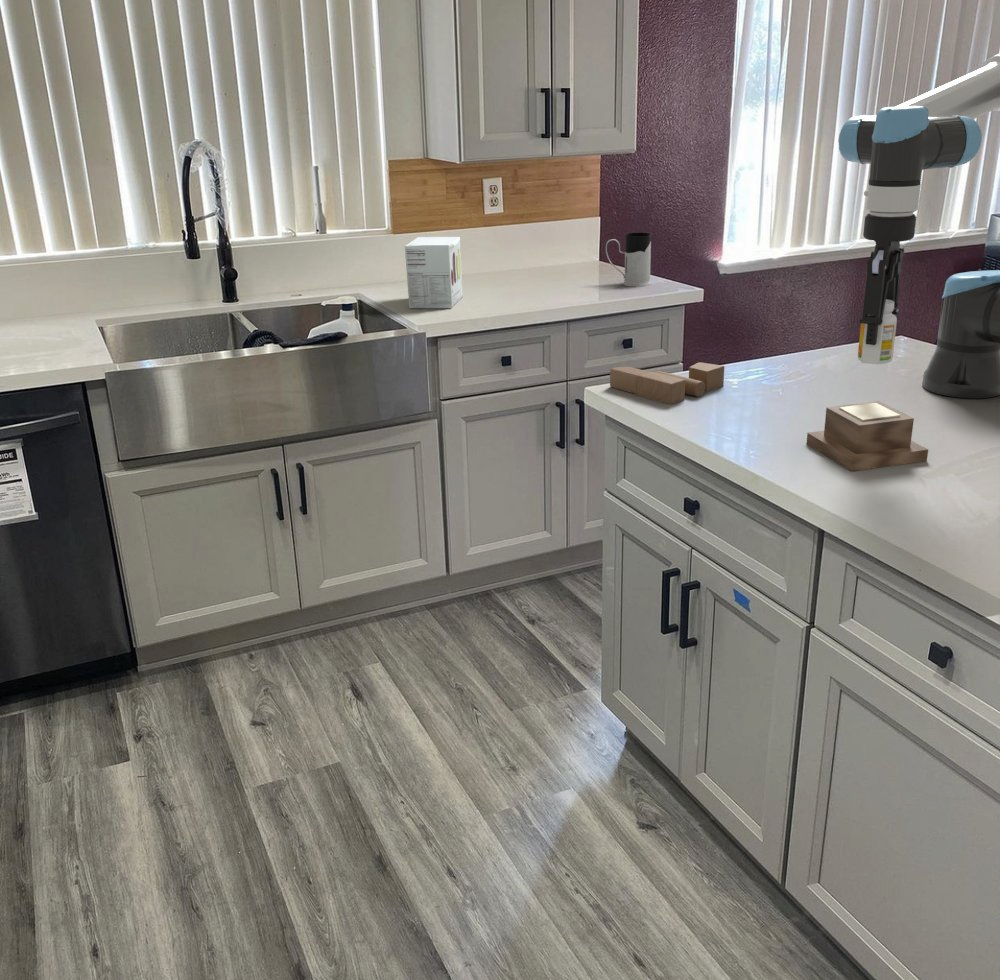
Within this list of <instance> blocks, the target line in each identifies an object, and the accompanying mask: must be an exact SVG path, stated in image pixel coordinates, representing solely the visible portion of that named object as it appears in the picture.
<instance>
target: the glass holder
mask: <svg viewBox="0 0 1000 980" xmlns="http://www.w3.org/2000/svg"><path fill="white" fill-rule="evenodd" d="M612 241H613V242H614V241H615V242H616V244H618V252H619V253H621V254H624V272H623V271H621V270H620V269H619V268H618V267H617V266H615V264H613V262H612V260H610V257H609V255H608V243H610V242H612ZM651 249H652V241H651V233H648V232H629V233H626V234H625V251H621V244H620V241H618V240H617V239H616V238H613V239H609V240H607V241H606V244H605V254H606V255H605V256H606V257H607V260H608V261H609V264H610V265H611V266H612V267H613V268H614V269H616V270H617V271H618V272H619V273H621V275H622V276H623V279H624V280H623V282H622V285H624V286H626V287H635V288H636V287H646V286H651V285H652V281H651V260H652V259H651V257H652V253H651V252H652V251H651Z"/></svg>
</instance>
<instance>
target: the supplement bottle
mask: <svg viewBox="0 0 1000 980" xmlns="http://www.w3.org/2000/svg"><path fill="white" fill-rule="evenodd" d="M893 309H895V308H894V301H892V300H887V299H886V302H885V307H884V313H883V319H882V320H883V322H882V324H884V326H883V335H882V344H881V353H880V362H879V364H878V365H884V364H888V363H891V362H892V361H893V358H894V357H893V356H894V348H895V341H896V331H897V323H898V320H897V315H893V314H892V311H893ZM864 329H865V324H863V323H860V330H859V341H858V350H857V360H858V361H860V362H861V357H862V348H863V338H864Z"/></svg>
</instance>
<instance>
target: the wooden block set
mask: <svg viewBox="0 0 1000 980" xmlns="http://www.w3.org/2000/svg"><path fill="white" fill-rule="evenodd" d="M609 374H610V375H609V386H610V387H611V388H612V389H616V390H620V391H622V392H623V391H624V392H627V393H630V394H634V395H636V396H638V397H641V398H645V399H649V400H651V401H655V402H658V403H659V402H660V403H663V404H666V405H673V404H677V403H679V402H682V401H683V402H684V400H685V396H686V395H688V396H689V395H690V396H694V397H697V398H698V397H702V396H703V395H704V393H707V392H710V391H713V390H716V389H720V388H722V387H724V385H725V384H724V382H725V381H724V380H725V379H724V378H725V365H719V364H713V363H707V362H701V361H700V362H697V363H695V364H693V365H691V366H689V367H688V377H686V376H681V375H677V374H672V373H669V372H664V371H663V370H656V371H648V370H644V369H639V368H636V367H632V366H616V367H613V368H610V370H609Z"/></svg>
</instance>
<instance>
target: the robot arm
mask: <svg viewBox="0 0 1000 980" xmlns="http://www.w3.org/2000/svg"><path fill="white" fill-rule="evenodd" d="M992 111H994V112H1000V53H997V54H995V55H993V56H990V57H988V59H986V60H985V61H984V62H983V63H982V64H981V65H980V67H979V68H978V69H976V70H974V71H972V72H969V73H967V74H965V75H962V76H960V77H959V78H957V79H953V80H952V81H949V82H947V83H945V84H943V85H940V86H939V87H937V88H934V89H932V90H929V91H928V92H925V93H922V94H921V95H919V96H917V97H914V98H912V99H909V100H907V101H905V102H903V103H901V104H898V105H896V106H887V107H885V106H884V107H882V108H880V109H879V110H878V111H877V113H876V114H873V115H869V114H863V115H855V116H851V117H850V118H849V119H847V120H846V121H845V122H844V123H843V125H842V127H841V129H840V130H839V131H840V132H839V134H838V150H839V152H840V155H841V157H842V158H843V159H844V160H846V161H848V162H852V163H859V164H861V165H866V164H868V165H869V164H870V168H869V178H868V186H867V188H868V189H866V190H865V189H864V192H863V196H865V197H867V199H866V207H865V209H866V210H867V212H869V213H867V214H866V215H865V216H864V223H863V231H862V232H863V233H862V234H863V238H864V239H865V240H866V241H867V240H868V241H874V242H875V245H874V251H871V252H870V256H869V259H867V262H866V267H867V268H866V269H867V270H866V282H865V291H864V299H863V306H862V307H863V309H862V316H861V318H859V323H860V324H861V323H863V324H865V329H864V338H863V348H862V357H861V361H860V363H861V364H868V365H869V364H870V365H876V366H877V365H878V366H879V365H880V364H879V362H880V353H881V344H882V335H883V326H884V324H882V322H883V320H882V319H883V313H884V307H885V302H886V299H887V300H892V301H894V309H893V311H892V314H893V315H895V316H898V315H899V314H900V309H897V308H898V305H899V303H898V300H899V294H900V293H899V292H900V283H901V282H900V281H901V273H902V266H903V265H902V263H903V258H904V254H905V247H901V246H900V245H901V242H906V241H907V242H908V241H911V240H912V239H914V237H915V234H916V232H915V231H916V225H917V216H916V214H915V213H914V212H916V211H917V210H919V203H920V193H921V187H922V186H921V181H922V176H923V171H924V170H930V169H942V168H950V169H953V168H955V167H958V166H962V165H965V164H967V163H969V162H970V161H972V160H973V159H974V158H975V157H976V156H977V154H978V153H979V151H980V149H981V143H982V136H983V135H982V134H983V133H982V130H981V128H980V127H981V126H980V125H979V123H978V122H977V121H976V120H975V119H977V118H980V117H982V116H983V115H986V114H989V113H990V112H992ZM941 299H942V301H941V302H942V303H941V307H940V308H941V310H940V315H939V316H940V319H939V325H938V331H937V332H938V333H937V341H936V347H935V350H934V352H933V355H932V356H931V358H930V361H929V363H928V365H927V368H926V369H925V371H924V372H923V375H922V381H921V385H922V387H923V388H924V389H925V390H927V391H928V392H931V393H934V394H937V395H942V396H946V397H952V398H958V399H959V398H960V399H987V398H994V397H997V396H1000V270H999V269H996V270H995V269H993V270H990V269H989V270H976V271H975V270H974V271H966V272H959V273H954V274H953V275H950V276H949V277H948V278H947V279H946V281H945V284H944V289H943V295H942V296H941Z"/></svg>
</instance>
